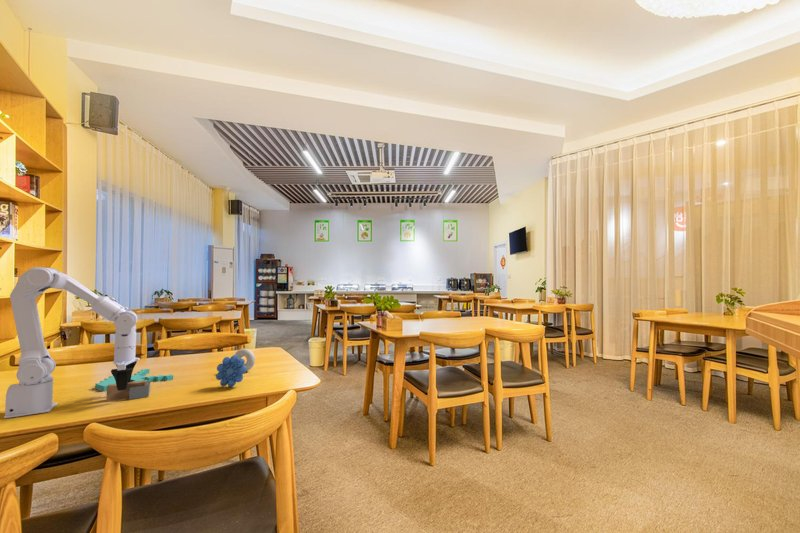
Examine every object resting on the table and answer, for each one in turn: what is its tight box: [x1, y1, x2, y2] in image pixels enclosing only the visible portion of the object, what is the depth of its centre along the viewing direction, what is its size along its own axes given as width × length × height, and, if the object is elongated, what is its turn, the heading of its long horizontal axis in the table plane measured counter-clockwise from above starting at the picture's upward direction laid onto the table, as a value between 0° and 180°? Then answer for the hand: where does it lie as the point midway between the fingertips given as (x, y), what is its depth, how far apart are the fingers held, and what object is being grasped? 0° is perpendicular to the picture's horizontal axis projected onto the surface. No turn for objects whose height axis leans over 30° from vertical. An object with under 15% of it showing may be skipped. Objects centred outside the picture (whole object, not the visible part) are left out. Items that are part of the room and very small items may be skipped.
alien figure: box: [94, 368, 174, 392], centre depth 132 cm, size 20×2×20 cm
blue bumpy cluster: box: [215, 354, 247, 388], centre depth 129 cm, size 12×7×12 cm, turn 87°
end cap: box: [128, 381, 151, 400], centre depth 118 cm, size 5×6×4 cm
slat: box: [106, 380, 145, 402], centre depth 116 cm, size 10×2×5 cm, turn 122°
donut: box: [234, 347, 256, 372], centre depth 149 cm, size 10×3×10 cm, turn 80°
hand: (123, 386), depth 115 cm, fingers open, 7 cm apart
